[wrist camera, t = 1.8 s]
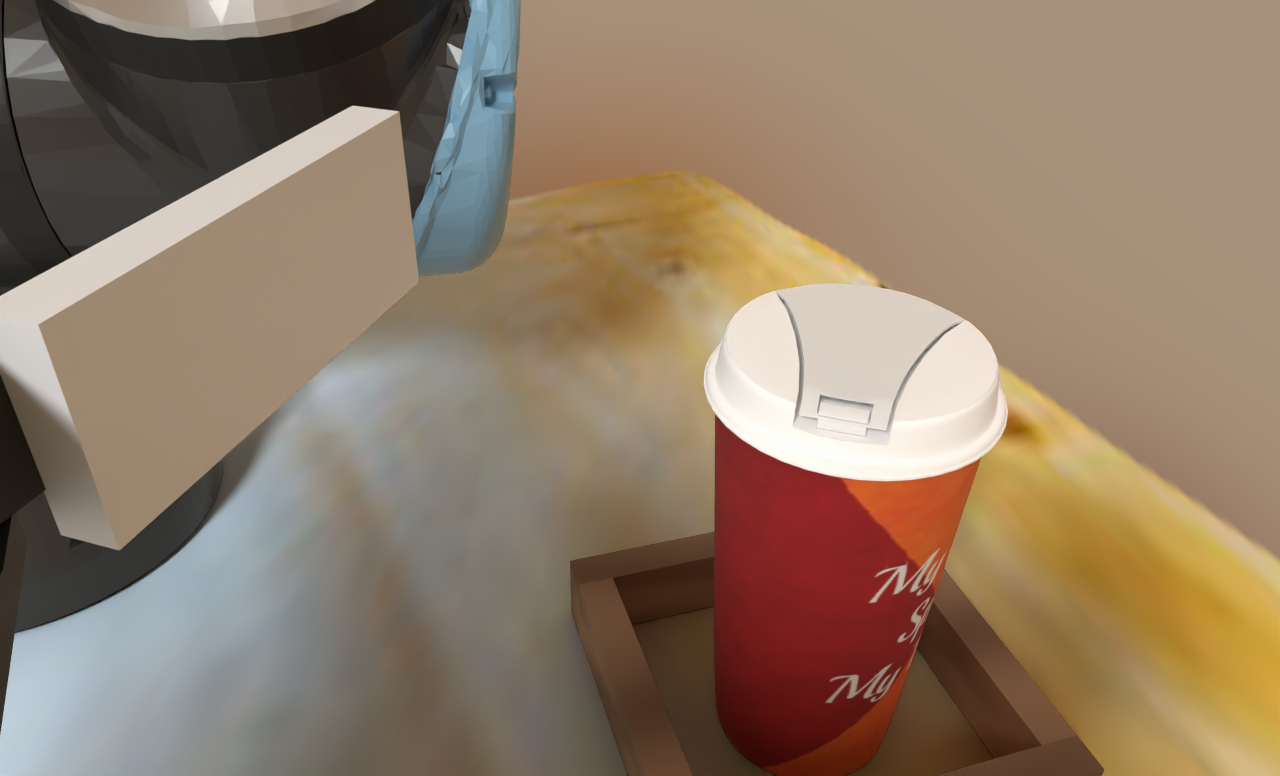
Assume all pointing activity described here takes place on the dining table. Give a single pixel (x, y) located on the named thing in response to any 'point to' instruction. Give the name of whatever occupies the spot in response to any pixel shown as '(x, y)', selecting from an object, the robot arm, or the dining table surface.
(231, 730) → the dining table surface
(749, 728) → the paper cup
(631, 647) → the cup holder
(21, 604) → the robot arm
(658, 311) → the dining table surface
